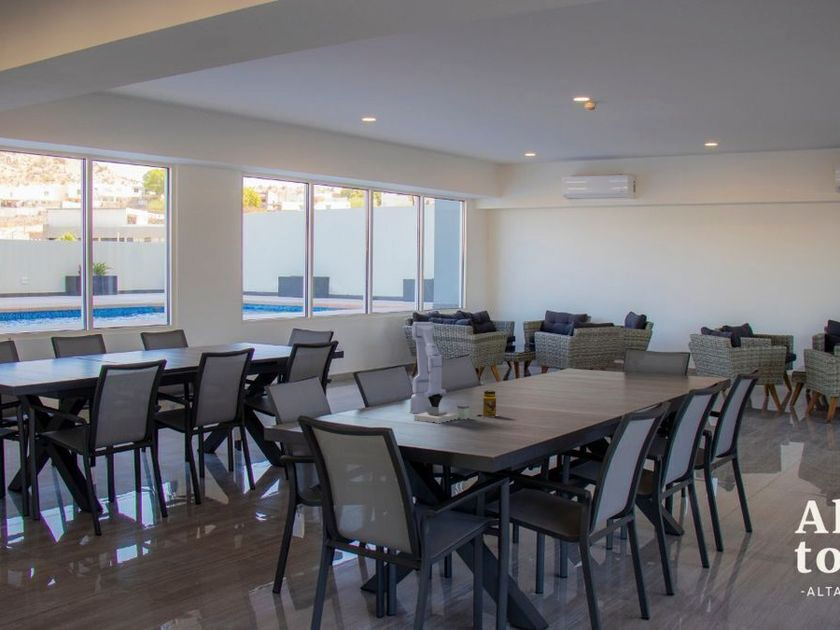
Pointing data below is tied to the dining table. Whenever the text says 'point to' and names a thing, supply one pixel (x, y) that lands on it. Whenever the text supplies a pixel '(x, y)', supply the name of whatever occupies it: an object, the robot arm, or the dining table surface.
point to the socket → (436, 417)
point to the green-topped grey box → (463, 411)
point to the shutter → (435, 410)
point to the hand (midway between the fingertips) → (434, 410)
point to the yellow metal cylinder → (489, 404)
